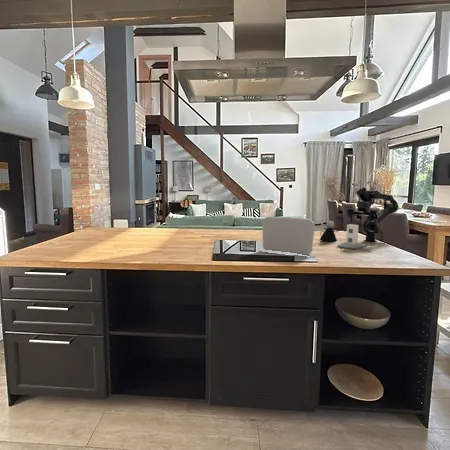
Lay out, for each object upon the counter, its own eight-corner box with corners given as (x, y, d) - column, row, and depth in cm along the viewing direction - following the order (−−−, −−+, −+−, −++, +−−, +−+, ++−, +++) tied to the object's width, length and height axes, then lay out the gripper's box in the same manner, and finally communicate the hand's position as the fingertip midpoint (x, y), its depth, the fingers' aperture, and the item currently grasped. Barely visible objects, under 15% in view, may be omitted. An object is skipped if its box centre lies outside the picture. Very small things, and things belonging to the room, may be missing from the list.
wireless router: (317, 254, 177) (319, 218, 175) (314, 258, 168) (316, 220, 166) (262, 249, 190) (263, 215, 188) (257, 252, 181) (258, 216, 179)
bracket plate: (347, 243, 211) (348, 239, 211) (366, 246, 203) (367, 242, 203) (336, 247, 199) (337, 243, 199) (356, 250, 191) (356, 245, 191)
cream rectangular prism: (349, 244, 201) (350, 224, 199) (357, 246, 198) (358, 224, 196) (345, 246, 197) (346, 224, 196) (353, 247, 194) (355, 225, 192)
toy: (335, 238, 222) (338, 218, 215) (337, 243, 216) (340, 223, 209) (317, 238, 223) (320, 218, 217) (319, 243, 217) (322, 222, 210)
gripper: (348, 196, 214) (340, 214, 207) (378, 197, 201) (370, 216, 195) (352, 207, 221) (344, 225, 214) (381, 209, 208) (374, 228, 202)
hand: (358, 223), depth 206 cm, fingers open, 9 cm apart
